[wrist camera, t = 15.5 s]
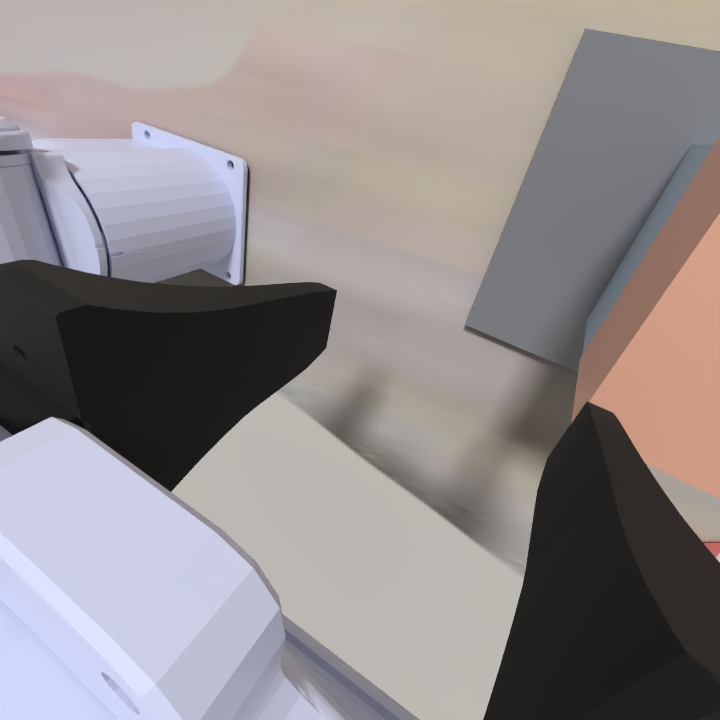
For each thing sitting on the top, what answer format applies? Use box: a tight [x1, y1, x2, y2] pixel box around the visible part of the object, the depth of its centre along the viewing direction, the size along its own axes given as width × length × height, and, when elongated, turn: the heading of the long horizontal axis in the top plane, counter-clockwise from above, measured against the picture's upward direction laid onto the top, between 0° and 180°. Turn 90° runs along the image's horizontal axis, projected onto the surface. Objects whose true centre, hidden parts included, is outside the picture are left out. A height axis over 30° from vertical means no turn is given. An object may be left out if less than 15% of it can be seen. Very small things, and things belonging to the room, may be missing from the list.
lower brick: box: [582, 144, 714, 355], centre depth 13 cm, size 4×7×4 cm, turn 168°
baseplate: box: [465, 29, 720, 373], centre depth 15 cm, size 14×12×1 cm
